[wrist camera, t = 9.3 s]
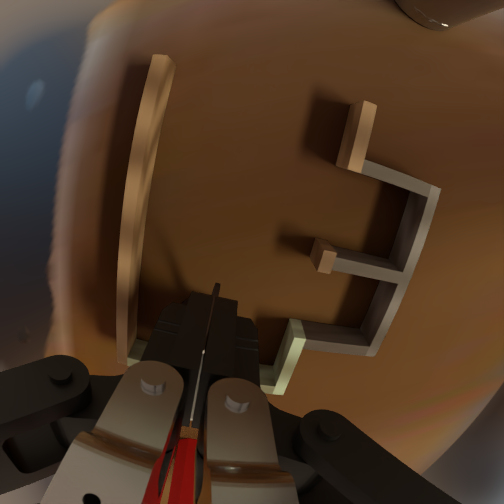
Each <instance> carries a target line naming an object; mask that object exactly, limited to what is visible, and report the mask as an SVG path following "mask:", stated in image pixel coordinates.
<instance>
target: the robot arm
mask: <svg viewBox="0 0 504 504" xmlns="http://www.w3.org/2000/svg"><path fill="white" fill-rule="evenodd" d="M395 1H396V3H397V4H398V5H399V7H400V8H401V9H402V10H403V11H404V12H405V13H406V14H407V15H408V16H409V17H411V18H412V19H413V20H414V21H416V22H418V23H419V24H421V25H422V26H425V27H427V28H429V29H433V30H436V31H444V30H448V29H450V28H453V27H455V26H457V25H460V24H462V23H464V22H467V21H470V20H472V19H475V18H477V17H480V16H482V15H485V14H488V13H490V12H493V11H496V10H499V9H501V8H504V0H395ZM213 297H214V296H212V295H207V294H203V293H198V292H194V291H192V292H191V295H190V298H189V301H188V304H187V305H182V304H178V303H174V302H173V303H171V304H170V305H168V306H167V307H165V308H164V309H163V310H162V312H161V314H160V316H159V318H158V321H157V323H156V325H155V327H154V330H153V332H152V334H151V337H150V339H149V341H148V343H147V346H146V348H145V350H144V353H143V355H142V357H141V360H140V362H138V363H135V364H133V365H131V366H130V367H129V368H128V369H127V370H126V372H125V373H124V374H122V375H118V376H98V375H89V372H88V369H87V368H86V366H85V365H84V364H83V363H82V362H81V361H79V360H78V359H76V358H74V357H71V356H67V355H54V356H50V357H47V358H44V359H41V360H38V361H34V362H32V363H28V364H25V365H22V366H19V367H15V368H12V369H9V370H6V371H3V372H0V495H1V494H4V493H7V492H9V491H12V490H15V489H18V488H20V487H23V486H26V485H29V484H31V483H34V482H36V481H39V480H41V479H44V478H46V477H49V476H51V475H53V474H55V475H54V477H53V479H52V481H51V483H50V485H49V487H48V489H47V491H46V493H45V495H44V497H43V499H42V501H41V503H39V504H160V501H161V497H162V493H163V490H164V486H165V483H166V479H167V476H168V472H169V469H170V465H171V462H172V459H173V455H174V452H175V448H176V445H177V443H178V441H179V437H180V432H181V427H182V426H187V427H189V424H190V418H191V412H192V407H193V401H194V396H195V390H196V385H197V380H198V374H199V369H200V364H201V358H202V353H203V348H204V343H205V337H206V332H207V327H208V322H209V317H210V312H211V307H212V302H213ZM237 305H238V301H236V300H231V299H226V298H222V297H217V296H216V297H215V302H214V306H213V311H212V316H211V321H210V326H209V331H208V336H207V341H206V346H205V351H204V357H203V362H202V368H201V373H200V379H199V385H198V391H197V396H196V402H195V408H194V414H193V420H192V426H191V427H193V428H198V429H199V431H198V438H197V444H196V448H195V460H194V500H193V504H461V503H460V502H458V501H457V500H455V499H453V498H452V497H451V496H449V495H448V494H446V493H444V492H443V491H442V490H440V489H439V488H437V487H436V486H434V485H433V484H432V483H430V482H429V481H427V480H426V479H425V478H423V477H422V476H420V475H419V474H418V473H416V472H415V471H413V470H412V469H411V468H409V467H408V466H407V465H405V464H404V463H402V462H401V461H400V460H398V459H397V458H396V457H394V456H393V455H392V454H391V453H389V452H388V451H387V450H385V449H384V448H383V447H381V446H380V445H379V444H377V443H376V442H375V441H374V440H372V439H371V438H370V437H369V436H367V435H366V434H365V433H364V432H362V431H361V430H360V429H359V428H357V427H356V426H355V425H354V424H352V423H351V422H350V421H349V420H347V419H346V418H345V417H343V416H342V415H340V414H338V413H336V412H334V411H330V410H314V411H311V412H309V413H307V414H306V415H305V416H304V417H303V418H301V417H298V416H295V415H292V414H289V413H287V412H284V411H282V410H279V409H278V408H276V407H274V406H273V405H272V404H270V403H269V402H268V400H267V397H266V395H265V393H264V392H263V391H262V390H261V387H260V369H259V352H258V349H259V348H258V329H257V328H256V326H255V325H254V323H253V321H252V320H251V319H249V318H244V317H239V316H237Z"/></svg>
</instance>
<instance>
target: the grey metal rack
mask: <svg viewBox="0 0 504 504" xmlns="http://www.w3.org/2000/svg"><path fill="white" fill-rule="evenodd" d="M176 66H177V65H176V64H175V63H174V62H173V61H172V60H171V59H170V58H169V57H168V56H167V55H157V54H153V57H152V61H151V64H150V68H149V72H148V75H147V79H146V83H145V87H144V91H143V95H142V99H141V104H140V108H139V113H138V117H137V122H136V127H135V132H134V137H133V142H132V148H131V153H130V159H129V165H128V172H127V178H126V185H125V193H124V201H123V209H122V219H121V229H120V240H119V254H118V271H117V300H116V338H117V363H121V364H124V365H128V366H131V365H133V364H135V363H138V362H140V360H141V357H142V355H143V353H144V350H145V348H146V346H147V343H148V342H147V341H143V340H139V339H136V337H137V311H138V294H139V280H140V268H141V257H142V247H143V238H144V230H145V222H146V214H147V207H148V200H149V193H150V187H151V180H152V174H153V169H154V163H155V157H156V152H157V147H158V142H159V137H160V132H161V127H162V123H163V118H164V114H165V109H166V105H167V101H168V97H169V93H170V89H171V85H172V81H173V77H174V73H175V70H176ZM376 108H377V105H375V104H372V103H370V102H367V101H361V102H358V103H355V104H352V105H350V108H349V113H348V117H347V121H346V125H345V130H344V134H343V138H342V142H341V146H340V150H339V154H338V158H337V162H336V165H335V166H337V167H341V168H344V169H347V170H350V171H354V172H357V173H360V174H363V175H366V176H369V177H372V178H375V179H378V180H381V181H384V182H387V183H389V184H392V185H395V186H398V187H401V188H403V189H406V190H409V191H410V193H409V197H408V200H407V203H406V207H405V210H404V213H403V217H402V220H401V223H400V226H399V229H398V232H397V235H396V238H395V241H394V244H393V247H392V250H391V252H390V255H389V258H388V259H386V258H382V257H377V256H373V255H369V254H365V253H361V252H357V251H352V250H348V249H344V248H340V247H335V246H331V245H330V243H329V242H328V241H327V240H323V239H319V238H315V241H314V244H313V247H312V251H311V254H310V259H311V261H312V263H313V264H314V266H315V268H316V270H317V271H318V272H322V273H327V274H330V273H331V270H334V271H339V272H344V273H349V274H354V275H358V276H363V277H368V278H373V279H378V280H380V282H379V284H378V287H377V289H376V292H375V294H374V297H373V299H372V302H371V304H370V306H369V309H368V311H367V313H366V316H365V318H364V320H363V323H362V325H361V327H360V329H358V328H351V327H344V326H337V325H330V324H323V323H316V322H310V321H304V320H298V319H292V318H290V319H289V322H288V325H287V328H286V331H285V334H284V337H283V339H282V342H281V345H280V348H279V351H278V354H277V356H276V359H275V362H274V365H273V366H269V365H262V364H259V369H260V387H261V390H262V391H263V392H264V393H269V394H277V395H283V394H284V392H285V389H286V387H287V385H288V382H289V380H290V378H291V375H292V373H293V370H294V368H295V366H296V363H297V361H298V358H299V356H300V353H301V351H302V349H308V350H316V351H324V352H333V353H342V354H352V355H363V356H375V355H376V353H377V351H378V349H379V347H380V345H381V343H382V341H383V339H384V337H385V335H386V333H387V331H388V329H389V327H390V325H391V323H392V321H393V318H394V316H395V314H396V312H397V310H398V307H399V305H400V303H401V301H402V298H403V296H404V294H405V291H406V289H407V287H408V284H409V282H410V279H411V277H412V274H413V272H414V269H415V267H416V264H417V261H418V259H419V256H420V253H421V250H422V248H423V245H424V242H425V239H426V236H427V233H428V230H429V227H430V224H431V221H432V218H433V215H434V212H435V208H436V205H437V201H438V198H439V194H440V191H441V189H440V188H438V187H435V186H433V185H430V184H428V183H426V182H423V181H421V180H418V179H416V178H413V177H411V176H408V175H406V174H403V173H401V172H398V171H395V170H393V169H390V168H387V167H385V166H382V165H379V164H376V163H373V162H371V161H368V160H365V155H366V151H367V147H368V143H369V139H370V135H371V130H372V126H373V122H374V117H375V113H376Z"/></svg>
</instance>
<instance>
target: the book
mask: <svg viewBox="0 0 504 504" xmlns="http://www.w3.org/2000/svg"><path fill="white" fill-rule="evenodd" d="M196 444H197V440H196V439H191V438H186V439H181V440H179V442H178V447H177V452H176V458H175V463H174V469H173V475H172V481H171V487H170V493H169V499H168V504H193V500H194V460H195V448H196Z"/></svg>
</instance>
